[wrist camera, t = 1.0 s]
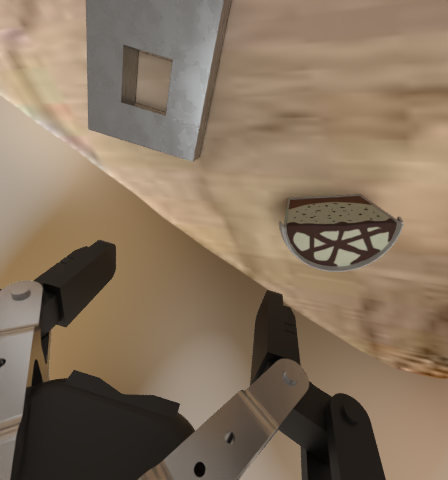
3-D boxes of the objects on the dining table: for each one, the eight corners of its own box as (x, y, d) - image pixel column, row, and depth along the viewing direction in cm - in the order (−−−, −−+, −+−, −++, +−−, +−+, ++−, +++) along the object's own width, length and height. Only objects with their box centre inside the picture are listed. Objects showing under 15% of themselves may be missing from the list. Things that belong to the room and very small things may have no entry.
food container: (278, 237, 38) (279, 275, 29) (277, 198, 35) (279, 228, 26) (365, 235, 35) (396, 276, 27) (372, 193, 33) (409, 224, 24)
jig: (106, -57, 25) (64, -99, 20) (235, -19, 25) (226, -52, 20) (104, 127, 34) (74, 130, 29) (199, 156, 34) (186, 165, 29)
